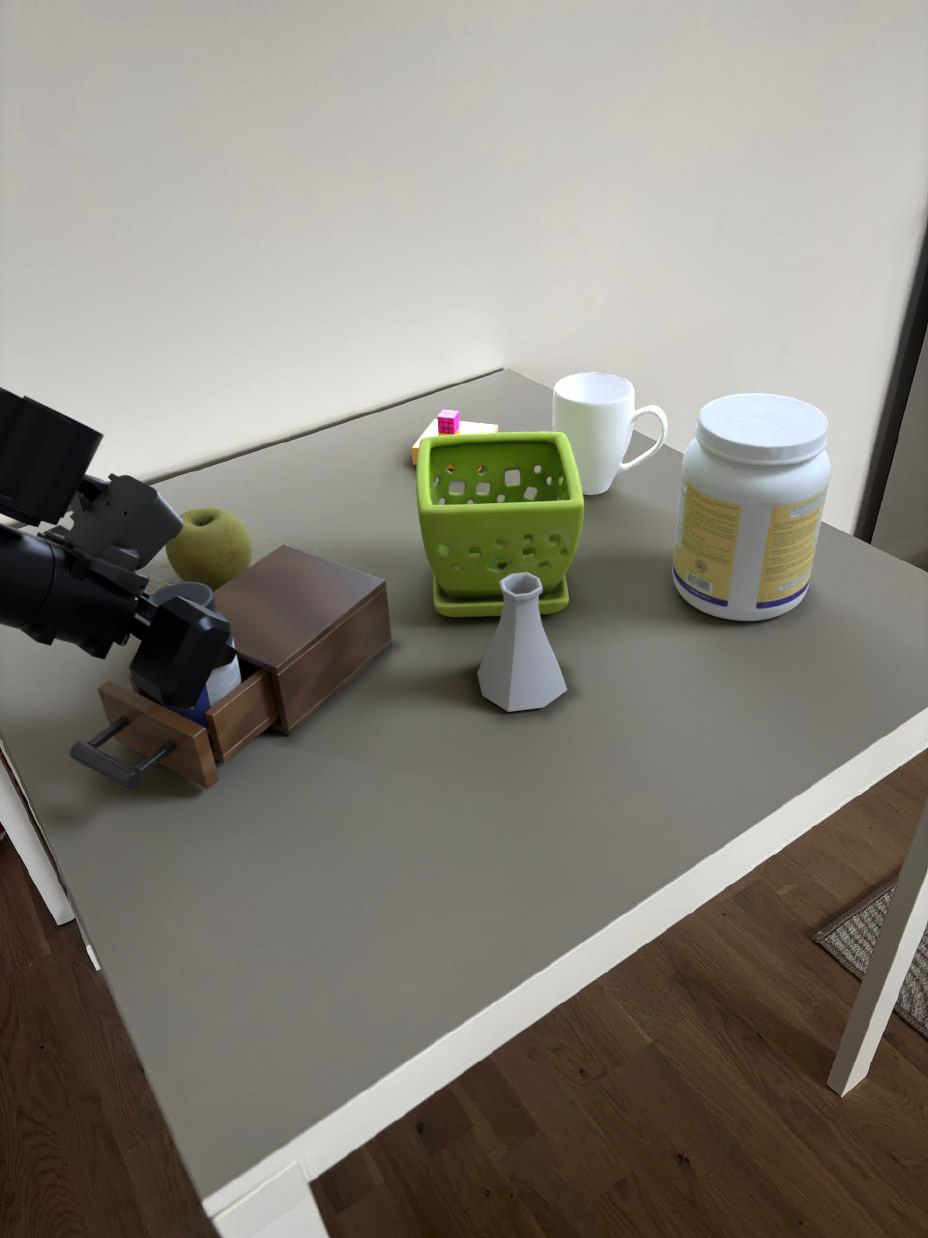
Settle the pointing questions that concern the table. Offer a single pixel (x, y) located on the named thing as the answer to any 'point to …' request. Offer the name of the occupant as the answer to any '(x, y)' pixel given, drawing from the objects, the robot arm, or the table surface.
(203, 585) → the pill bottle
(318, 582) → the cabinet
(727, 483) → the supplement tub
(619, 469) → the mug
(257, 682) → the drawer
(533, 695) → the flask
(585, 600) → the table surface
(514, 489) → the flower pot
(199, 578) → the apple
